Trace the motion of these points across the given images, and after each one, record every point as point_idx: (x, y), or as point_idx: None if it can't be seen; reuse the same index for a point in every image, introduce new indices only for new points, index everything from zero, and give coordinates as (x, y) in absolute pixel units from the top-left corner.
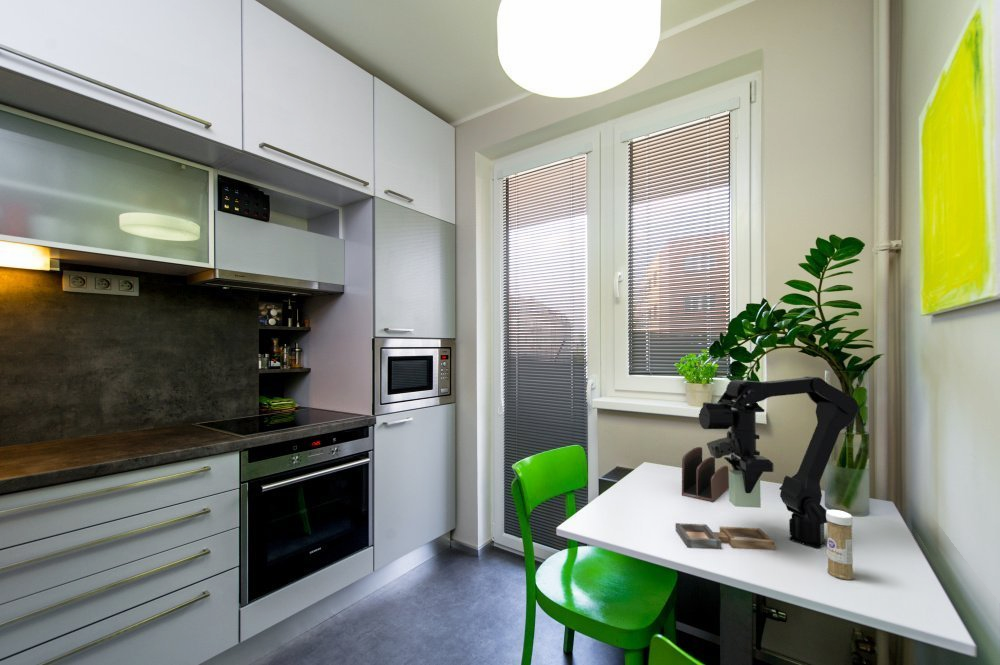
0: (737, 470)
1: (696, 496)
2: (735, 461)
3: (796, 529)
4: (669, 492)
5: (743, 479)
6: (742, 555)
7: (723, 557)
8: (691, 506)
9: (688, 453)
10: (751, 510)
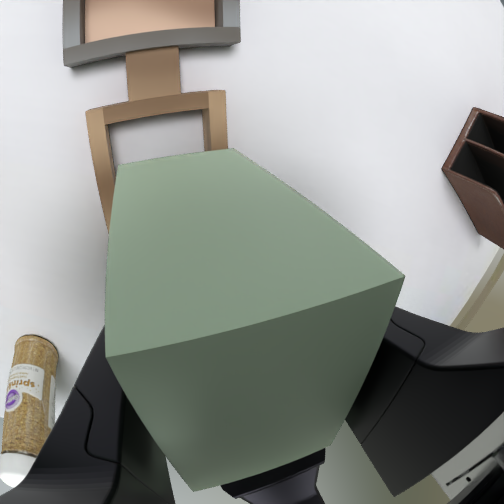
0: (367, 370)
1: (464, 136)
2: (463, 428)
3: None
4: (484, 85)
5: (111, 386)
6: (38, 136)
7: (9, 71)
8: (426, 93)
9: None
10: (393, 248)
